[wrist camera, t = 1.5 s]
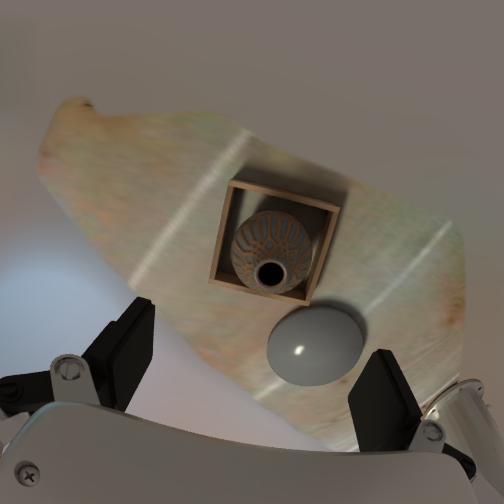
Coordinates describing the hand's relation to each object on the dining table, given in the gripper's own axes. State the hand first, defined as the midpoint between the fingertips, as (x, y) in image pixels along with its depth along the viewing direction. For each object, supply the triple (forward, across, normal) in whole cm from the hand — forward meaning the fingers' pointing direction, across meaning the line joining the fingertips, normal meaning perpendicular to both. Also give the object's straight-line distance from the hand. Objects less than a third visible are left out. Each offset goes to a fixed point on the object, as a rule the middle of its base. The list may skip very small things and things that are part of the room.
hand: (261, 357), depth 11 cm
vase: (+18, -1, 0) cm, 18 cm away
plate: (+18, -9, +11) cm, 23 cm away
